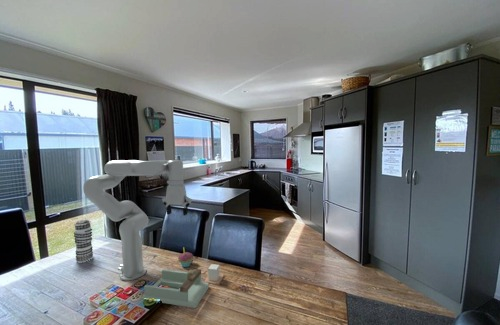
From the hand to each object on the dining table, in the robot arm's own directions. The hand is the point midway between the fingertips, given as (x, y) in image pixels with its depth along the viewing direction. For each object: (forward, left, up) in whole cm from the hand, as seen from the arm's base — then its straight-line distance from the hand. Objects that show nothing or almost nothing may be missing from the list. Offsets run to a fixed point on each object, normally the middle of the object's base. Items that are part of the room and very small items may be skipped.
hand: (177, 214), depth 113 cm
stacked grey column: (-68, +3, -34) cm, 76 cm away
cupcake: (-1, +9, -34) cm, 35 cm away
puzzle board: (+8, -15, -33) cm, 37 cm away
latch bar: (+16, -15, -27) cm, 34 cm away
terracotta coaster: (+21, -1, -33) cm, 39 cm away
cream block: (+21, -1, -32) cm, 39 cm away
